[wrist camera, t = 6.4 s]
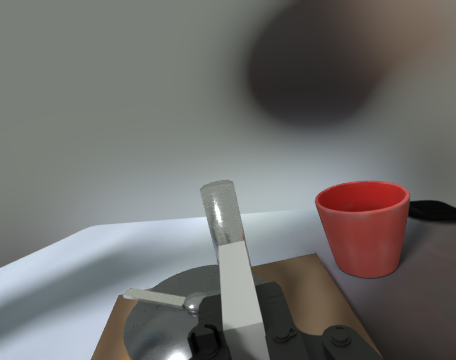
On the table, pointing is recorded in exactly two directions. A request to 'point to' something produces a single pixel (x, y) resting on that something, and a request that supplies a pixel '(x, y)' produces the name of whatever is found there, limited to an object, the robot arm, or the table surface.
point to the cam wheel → (183, 288)
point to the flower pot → (365, 225)
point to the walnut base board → (294, 294)
